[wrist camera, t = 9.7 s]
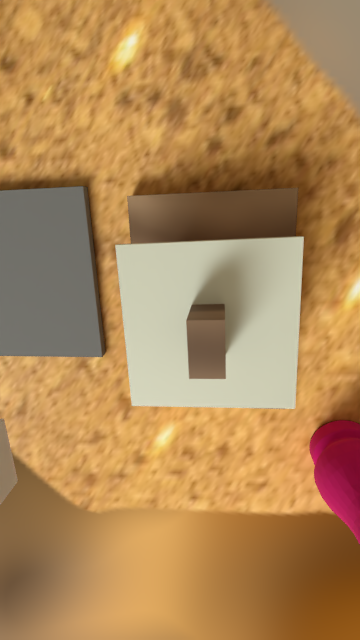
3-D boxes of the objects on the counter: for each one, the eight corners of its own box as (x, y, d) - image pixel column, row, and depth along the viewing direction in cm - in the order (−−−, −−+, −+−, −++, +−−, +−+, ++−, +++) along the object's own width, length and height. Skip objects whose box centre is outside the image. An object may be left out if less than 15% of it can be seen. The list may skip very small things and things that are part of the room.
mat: (-74, 195, 33) (-83, 195, 32) (87, 187, 31) (82, 186, 30) (-37, 351, 37) (-44, 355, 36) (105, 353, 35) (102, 357, 34)
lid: (118, 244, 25) (95, 250, 21) (301, 236, 24) (320, 241, 19) (134, 400, 29) (117, 435, 24) (293, 403, 27) (307, 441, 23)
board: (131, 196, 30) (127, 196, 29) (294, 189, 29) (298, 187, 27) (146, 397, 36) (143, 404, 35) (283, 401, 34) (285, 408, 33)
